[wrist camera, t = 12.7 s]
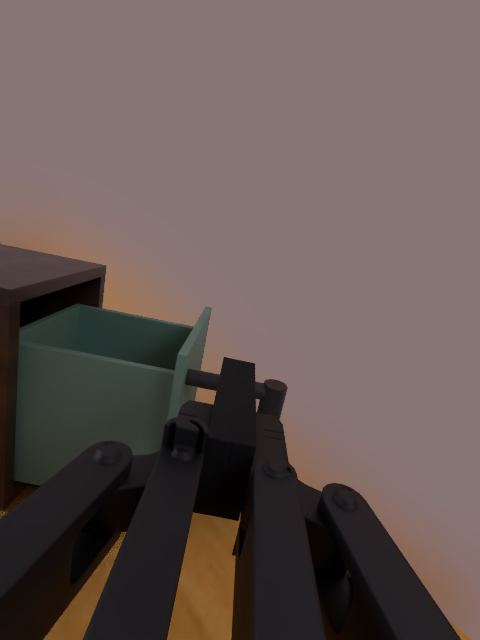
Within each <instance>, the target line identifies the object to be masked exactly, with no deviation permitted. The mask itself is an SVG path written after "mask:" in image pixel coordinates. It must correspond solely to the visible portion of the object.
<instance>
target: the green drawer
mask: <svg viewBox="0 0 480 640" xmlns="http://www.w3.org/2000/svg"><path fill="white" fill-rule="evenodd" d="M211 309H212V308H210V307H205V309H204V311H203V313H202V314H201V316H200V317H199V319H198V321H197V323H196V324H195V326H194V327H193V326H188V325H182V324H177V323H173V322H167V321H162V320H158V319H153V318H147V317H142V316H138V315H132V314H127V313H123V312H118V311H113V310H107V309H103V308H98V307H93V306H88V305H83V304H78V303H77V304H75V305H72V306H70V307H68V308H65V309H63V310H61V311H58V312H56V313H54V314H51V315H49V316H46V317H44V318H42V319H39V320H37V321H35V322H32V323H30V324H28V325H25V326H23V327H21V328H19V354H18V379H17V405H16V431H15V456H14V481H19V482H24V483H29V484H34V485H40V486H41V485H42V484H44V483H45V482H46V481H47V480H49V479H50V478H51V477H52V476H54V475H55V474H56V473H57V472H58V471H60V470H61V469H62V468H63V467H65V466H66V465H67V464H68V463H70V462H71V461H72V460H73V459H75V458H76V457H77V456H78V455H79V454H81V453H82V452H83V451H84V450H86V449H87V448H88V447H90V446H91V445H93V444H95V443H98V442H102V441H118V442H122V443H124V444H126V445H127V446H129V447H130V449H131V450H132V454H133V455H147V454H152V453H155V452H157V451H159V450H160V449H161V445H162V439H163V433H164V427H165V424H166V422H167V421H168V420H170V419H172V418H174V417H177V416H178V413H179V411H180V408H181V406H182V405H183V404H184V403H186V402H187V401H189V400H192V401H195V396H196V391H197V387H200V388H205V389H210V390H215V391H217V387H218V383H219V378H220V375H219V374H213V373H208V372H203V371H200V369H201V364H202V358H203V353H204V347H205V342H206V336H207V331H208V325H209V320H210V314H211ZM286 392H287V386H286V384H284V383H283V382H280V381H278V380H272V379H269V380H266V381H265V382H264V383H259V382H255V397H256V399H260V402H259V406H258V411H257V413H262V414H267V415H272V416H277V418H278V419H280V415H281V411H282V407H283V403H284V399H285V396H286Z"/></svg>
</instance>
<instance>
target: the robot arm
mask: <svg viewBox="0 0 480 640" xmlns="http://www.w3.org/2000/svg"><path fill="white" fill-rule="evenodd" d="M193 512H195V513H200V514H206V515H211V516H216V517H221V518H226V519H231V520H237V521H238V520H239V516H240V512H241V520H240V525H239V529H238V533H237V537H236V541H235V545H234V549H233V553H232V555H236V562H235V581H234V600H233V619H232V638H231V640H461V639H460V637H459V636H458V635H457V633H456V632H455V630H454V629H453V627H452V626H451V624H450V623H449V621H448V620H447V618H446V617H445V616H444V614H443V613H442V611H441V610H440V608H439V607H438V606H437V604H436V603H435V601H434V600H433V598H432V597H431V595H430V594H429V592H428V591H427V589H426V588H425V586H424V585H423V584H422V582H421V581H420V579H419V578H418V576H417V575H416V573H415V572H414V570H413V569H412V567H411V566H410V564H409V563H408V562H407V560H406V559H405V557H404V556H403V554H402V553H401V551H400V550H399V548H398V547H397V546H396V544H395V543H394V541H393V540H392V538H391V537H390V535H389V534H388V532H387V531H386V529H385V528H384V527H383V525H382V524H381V522H380V521H379V519H378V518H377V516H376V515H375V513H374V512H373V511H372V509H371V508H370V506H369V505H368V503H367V502H366V500H365V499H364V498H363V497H362V496H361V495H360V494H359V493H358V492H356V491H355V490H354V489H352V488H350V487H348V486H345V485H342V484H337V483H332V484H328V485H326V486H325V487H324V488H323V491H322V492H321V491H318V490H316V489H314V488H312V487H309V486H307V485H305V484H304V483H302V482H301V481H300V480H298V479H297V474H296V471H295V469H294V468H293V467H292V466H291V465H290V464H289V462H288V456H287V449H286V443H285V436H284V430H283V424H282V423H281V422H280V420H279V419H278V418H277V416H272V415H267V414H262V413H257V412H256V397H255V363H250V362H245V361H240V360H235V359H230V358H226V357H224V359H223V364H222V369H221V373H220V378H219V383H218V387H217V392H216V396H215V401H214V405H212V404H207V403H202V402H197V401H192V400H189V401H187V402H186V403H184V404H183V405H182V406H181V408H180V411H179V413H178V416H177V417H174V418H172V419H170V420H168V421H167V422H166V424H165V427H164V433H163V439H162V445H161V449H160V450H159V451H157V452H155V453H152V454H147V455H133V454H132V450H131V449H130V447H129V446H127V445H126V444H124V443H122V442H118V441H102V442H98V443H95V444H93V445H91V446H90V447H88V448H87V449H86V450H84V451H83V452H82V453H81V454H79V455H78V456H77V457H76V458H75V459H73V460H72V461H71V462H70V463H68V464H67V465H66V466H65V467H63V468H62V469H61V470H60V471H58V472H57V473H56V474H55V475H54V476H52V477H51V478H50V479H49V480H47V481H46V482H45V483H44V484H42V485H41V486H40V487H39V488H38V489H36V490H35V491H34V492H33V493H31V494H30V495H29V496H28V497H26V498H25V499H24V500H23V501H21V502H20V503H19V504H18V505H17V506H15V507H14V508H13V509H12V510H10V511H9V512H8V513H7V514H5V515H4V516H3V517H2V518H1V519H0V640H43V639H44V638H45V636H46V635H47V634H48V632H49V631H50V630H51V628H52V627H53V625H54V624H55V623H56V621H57V620H58V619H59V617H60V616H61V615H62V613H63V612H64V611H65V609H66V608H67V607H68V605H69V604H70V603H71V601H72V600H73V599H74V597H75V596H76V595H77V593H78V592H79V591H80V589H81V588H82V587H83V585H84V584H85V583H86V581H87V580H88V579H89V577H90V576H91V575H92V573H93V572H94V571H95V569H96V568H97V567H98V565H99V564H100V563H101V561H102V560H103V559H104V557H105V556H106V555H107V553H108V552H109V551H110V549H111V548H112V547H113V545H114V544H115V542H116V541H117V540H118V538H119V537H120V534H121V532H126V531H127V533H126V535H125V538H124V540H123V542H122V545H121V547H120V550H119V552H118V555H117V557H116V560H115V562H114V564H113V567H112V569H111V572H110V574H109V577H108V579H107V582H106V584H105V587H104V589H103V591H102V594H101V596H100V599H99V601H98V604H97V606H96V609H95V611H94V614H93V616H92V618H91V621H90V623H89V626H88V628H87V631H86V633H85V636H84V638H83V640H167V636H168V631H169V626H170V621H171V616H172V611H173V606H174V602H175V597H176V592H177V587H178V582H179V577H180V572H181V567H182V562H183V558H184V553H185V548H186V543H187V538H188V533H189V528H190V523H191V518H192V514H193Z"/></svg>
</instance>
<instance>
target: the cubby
mask: <svg viewBox="0 0 480 640" xmlns="http://www.w3.org/2000/svg"><path fill="white" fill-rule="evenodd" d="M105 273H106V266H105V265H101V264H96V263H91V262H86V261H81V260H76V259H71V258H65V257H61V256H56V255H51V254H46V253H41V252H36V251H31V250H27V249H21V248H17V247H12V246H7V245H2V244H0V510H5V508H6V507H7V506H8V505H9V504H10V503H11V502H12V500H13V499H14V498H15V497H16V496H17V495H18V494H19V493H20V491H21V490H22V489H23V488H24V487H25V486H26V485H27V483H24V482H19V481H14V456H15V431H16V405H17V379H18V354H19V328H21V327H23V326H25V325H28V324H30V323H32V322H35V321H37V320H39V319H42V318H44V317H46V316H49V315H51V314H54V313H56V312H58V311H61V310H63V309H65V308H68V307H70V306H72V305H75V304H77V303H78V304H83V305H88V306H93V307H98V308H102V302H103V293H104V283H105Z"/></svg>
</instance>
